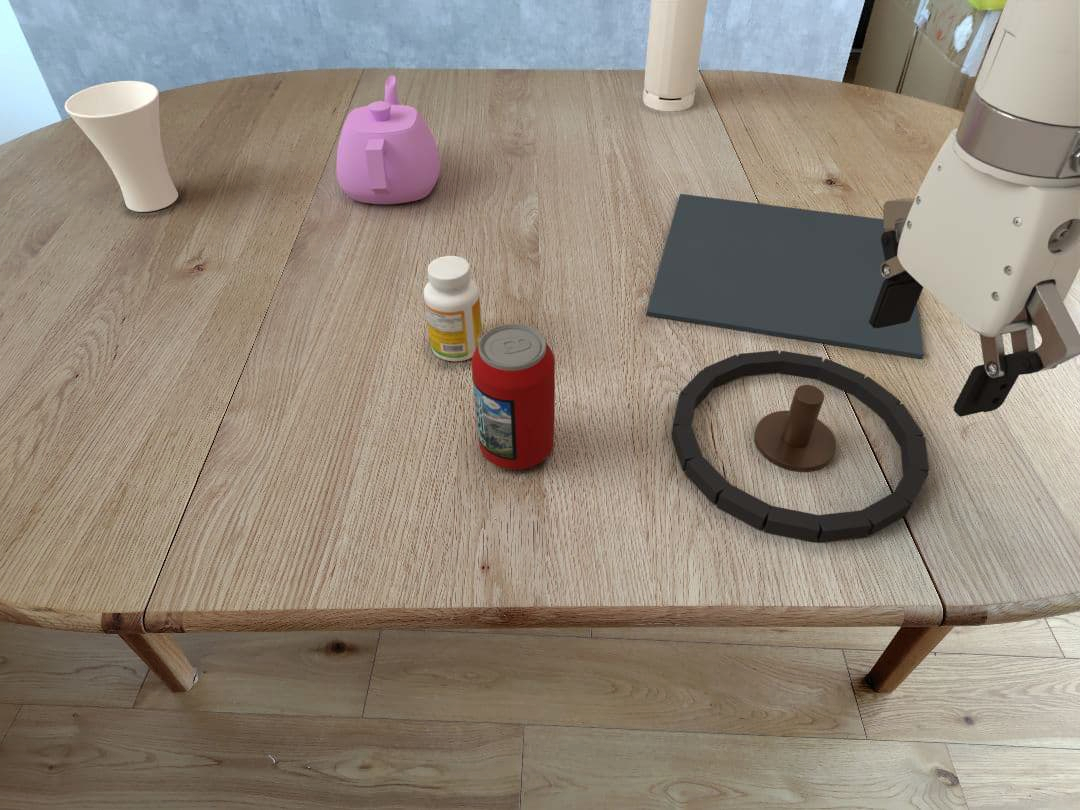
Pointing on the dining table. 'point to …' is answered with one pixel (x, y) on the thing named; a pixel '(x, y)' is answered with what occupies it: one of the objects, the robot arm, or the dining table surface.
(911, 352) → the mat
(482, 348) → the beverage can
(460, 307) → the supplement bottle
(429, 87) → the dining table surface
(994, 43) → the robot arm
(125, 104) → the cup
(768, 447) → the brown peg stand
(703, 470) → the ring
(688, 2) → the bottle
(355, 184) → the teapot
